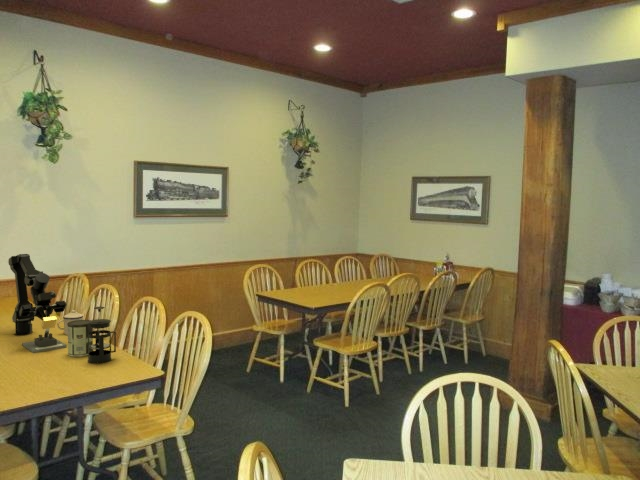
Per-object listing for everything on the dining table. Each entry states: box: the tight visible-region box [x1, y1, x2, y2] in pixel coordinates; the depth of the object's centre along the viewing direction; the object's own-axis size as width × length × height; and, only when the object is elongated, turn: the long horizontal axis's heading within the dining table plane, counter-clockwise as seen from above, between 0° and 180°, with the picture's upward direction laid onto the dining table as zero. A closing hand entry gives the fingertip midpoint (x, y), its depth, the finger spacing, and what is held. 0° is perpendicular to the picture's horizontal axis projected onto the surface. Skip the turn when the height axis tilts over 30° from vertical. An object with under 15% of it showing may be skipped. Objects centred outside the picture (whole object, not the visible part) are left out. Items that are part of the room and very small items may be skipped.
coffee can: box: [67, 319, 94, 358], centre depth 235 cm, size 10×10×14 cm
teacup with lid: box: [56, 309, 84, 336], centre depth 268 cm, size 12×9×12 cm
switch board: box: [21, 332, 67, 354], centre depth 245 cm, size 16×14×6 cm
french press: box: [87, 306, 117, 365], centre depth 226 cm, size 12×9×23 cm
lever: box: [41, 315, 57, 338], centre depth 240 cm, size 2×5×11 cm
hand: (47, 323), depth 240 cm, fingers closed, pressing on lever
